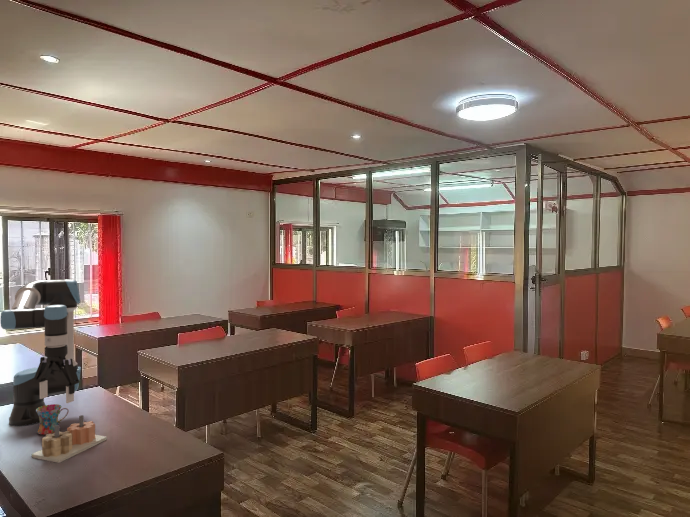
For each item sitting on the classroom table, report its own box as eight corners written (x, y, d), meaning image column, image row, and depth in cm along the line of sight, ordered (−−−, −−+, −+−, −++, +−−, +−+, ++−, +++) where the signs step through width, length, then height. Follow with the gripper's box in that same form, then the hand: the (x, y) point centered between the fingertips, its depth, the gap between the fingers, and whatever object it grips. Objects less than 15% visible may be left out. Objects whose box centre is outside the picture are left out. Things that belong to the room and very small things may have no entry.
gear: (36, 454, 176) (35, 439, 175) (59, 444, 185) (59, 429, 185) (55, 458, 173) (55, 442, 172) (77, 447, 182) (77, 432, 182)
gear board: (31, 457, 176) (31, 428, 176) (81, 435, 197) (80, 409, 197) (59, 462, 172) (58, 433, 172) (106, 439, 193) (106, 413, 192)
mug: (36, 438, 194) (36, 413, 193) (35, 430, 201) (35, 406, 201) (69, 431, 201) (69, 407, 200) (67, 424, 208) (67, 401, 208)
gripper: (23, 344, 178) (23, 399, 179) (72, 350, 170) (72, 407, 171) (41, 341, 185) (42, 393, 186) (89, 346, 177) (89, 400, 178)
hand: (56, 400), depth 178 cm, fingers open, 13 cm apart
